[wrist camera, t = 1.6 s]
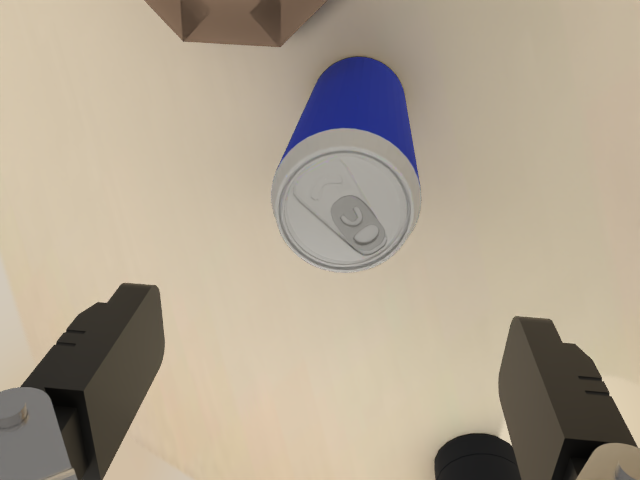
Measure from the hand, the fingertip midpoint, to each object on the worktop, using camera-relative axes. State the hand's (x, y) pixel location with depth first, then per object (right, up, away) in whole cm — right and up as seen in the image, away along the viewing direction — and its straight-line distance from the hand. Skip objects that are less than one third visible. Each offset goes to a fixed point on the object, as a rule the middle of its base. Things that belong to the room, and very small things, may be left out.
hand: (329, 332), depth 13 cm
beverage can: (+2, +10, +19) cm, 22 cm away
